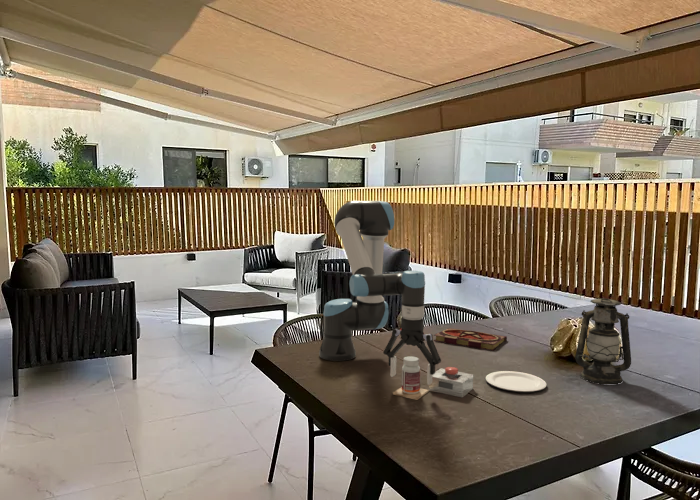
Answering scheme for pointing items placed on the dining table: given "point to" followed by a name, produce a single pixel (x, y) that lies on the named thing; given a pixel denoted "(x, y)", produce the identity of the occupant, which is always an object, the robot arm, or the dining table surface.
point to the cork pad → (411, 396)
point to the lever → (451, 371)
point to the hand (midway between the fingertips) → (411, 379)
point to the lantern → (604, 343)
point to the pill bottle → (411, 375)
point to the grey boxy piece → (452, 383)
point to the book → (470, 338)
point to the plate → (516, 381)
